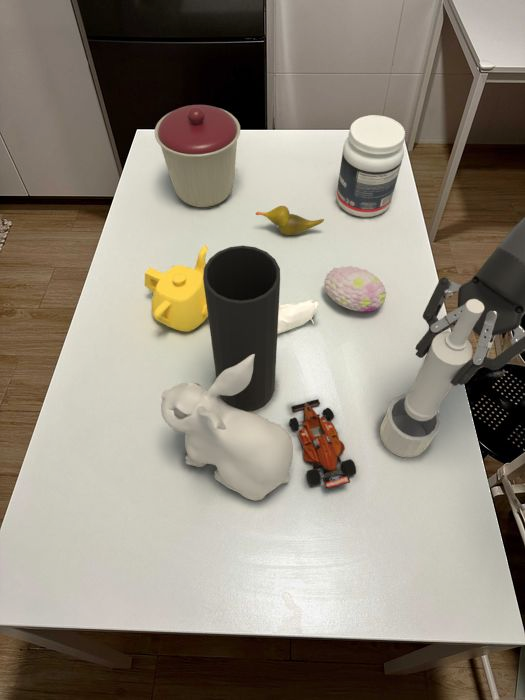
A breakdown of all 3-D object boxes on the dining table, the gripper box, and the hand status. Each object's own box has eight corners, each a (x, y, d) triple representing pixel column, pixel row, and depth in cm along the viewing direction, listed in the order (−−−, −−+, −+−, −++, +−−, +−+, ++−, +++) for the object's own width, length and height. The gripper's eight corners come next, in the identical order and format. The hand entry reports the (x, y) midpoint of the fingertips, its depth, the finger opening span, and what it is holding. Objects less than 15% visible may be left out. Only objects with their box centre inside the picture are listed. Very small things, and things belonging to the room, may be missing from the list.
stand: (438, 436, 87) (450, 418, 82) (407, 467, 84) (418, 450, 79) (400, 404, 91) (410, 385, 85) (369, 433, 88) (377, 414, 82)
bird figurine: (299, 309, 104) (256, 319, 100) (312, 290, 99) (267, 300, 94) (310, 329, 103) (267, 341, 98) (323, 311, 97) (279, 322, 93)
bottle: (398, 395, 81) (445, 292, 60) (429, 390, 81) (487, 286, 60) (409, 425, 78) (462, 327, 57) (442, 419, 78) (506, 320, 57)
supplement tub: (334, 182, 125) (344, 111, 109) (387, 184, 124) (405, 113, 109) (336, 219, 117) (347, 148, 102) (392, 221, 117) (412, 150, 102)
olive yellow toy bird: (256, 223, 117) (256, 200, 111) (322, 227, 116) (325, 204, 111) (254, 236, 114) (254, 213, 109) (322, 240, 114) (325, 217, 108)
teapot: (226, 328, 100) (224, 296, 92) (158, 344, 98) (149, 312, 90) (210, 277, 107) (206, 243, 99) (146, 291, 105) (137, 257, 97)
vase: (231, 355, 96) (221, 237, 72) (282, 371, 95) (290, 256, 70) (209, 401, 91) (190, 290, 66) (263, 419, 89) (264, 312, 64)
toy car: (325, 398, 91) (328, 386, 88) (359, 486, 83) (363, 476, 79) (283, 408, 90) (284, 397, 87) (313, 498, 81) (315, 489, 78)
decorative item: (325, 259, 104) (357, 250, 95) (364, 283, 109) (398, 277, 100) (311, 300, 102) (342, 294, 93) (352, 322, 107) (385, 319, 98)
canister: (166, 170, 127) (151, 86, 109) (239, 166, 128) (236, 82, 110) (166, 221, 117) (149, 137, 99) (245, 215, 118) (242, 132, 100)
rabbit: (191, 409, 90) (171, 324, 69) (301, 453, 86) (315, 375, 65) (159, 467, 84) (126, 392, 63) (275, 517, 80) (281, 454, 59)
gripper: (470, 224, 62) (385, 336, 68) (579, 293, 56) (476, 409, 62) (481, 236, 68) (402, 337, 74) (580, 299, 62) (486, 404, 68)
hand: (436, 369), depth 68 cm, fingers closed on bottle, 5 cm apart
